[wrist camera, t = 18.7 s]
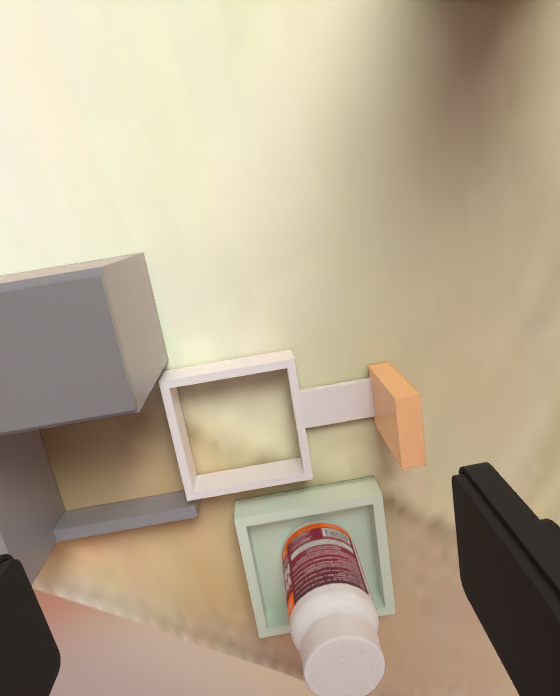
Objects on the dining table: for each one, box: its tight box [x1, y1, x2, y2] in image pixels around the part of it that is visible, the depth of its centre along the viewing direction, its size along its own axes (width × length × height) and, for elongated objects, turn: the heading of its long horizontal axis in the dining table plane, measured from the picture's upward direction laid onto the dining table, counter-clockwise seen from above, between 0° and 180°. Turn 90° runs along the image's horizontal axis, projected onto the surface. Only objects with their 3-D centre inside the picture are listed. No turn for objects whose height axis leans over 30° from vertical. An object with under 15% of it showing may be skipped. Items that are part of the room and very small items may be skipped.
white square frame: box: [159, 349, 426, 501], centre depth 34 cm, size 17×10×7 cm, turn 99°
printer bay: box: [0, 253, 200, 586], centre depth 31 cm, size 12×20×11 cm, turn 9°
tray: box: [234, 476, 396, 638], centre depth 40 cm, size 12×12×3 cm
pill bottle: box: [282, 520, 385, 696], centre depth 35 cm, size 6×6×11 cm
